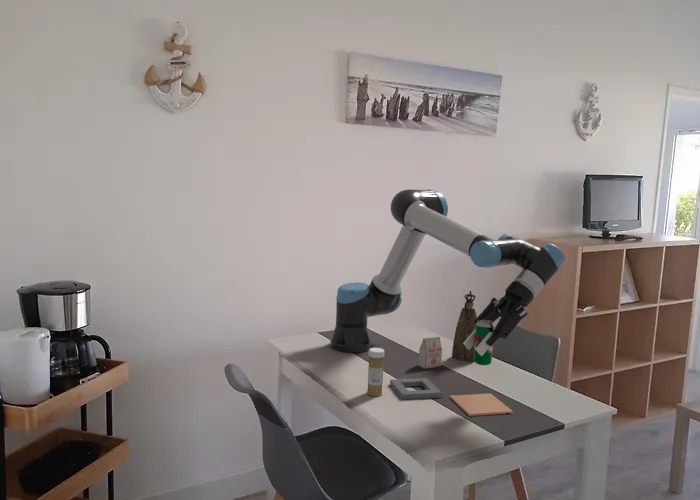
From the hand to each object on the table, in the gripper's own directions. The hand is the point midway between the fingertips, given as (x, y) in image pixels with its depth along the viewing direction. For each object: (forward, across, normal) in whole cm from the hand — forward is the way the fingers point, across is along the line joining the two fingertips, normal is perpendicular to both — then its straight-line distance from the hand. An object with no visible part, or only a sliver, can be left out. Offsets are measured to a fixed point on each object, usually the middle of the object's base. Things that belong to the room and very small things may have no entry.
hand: (472, 349), depth 159 cm
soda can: (+1, 0, -6) cm, 6 cm away
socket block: (+18, +15, -6) cm, 24 cm away
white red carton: (+6, +34, -17) cm, 38 cm away
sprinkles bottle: (+27, +17, +3) cm, 32 cm away
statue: (-5, +37, -29) cm, 47 cm away
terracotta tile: (+9, 0, -15) cm, 17 cm away
